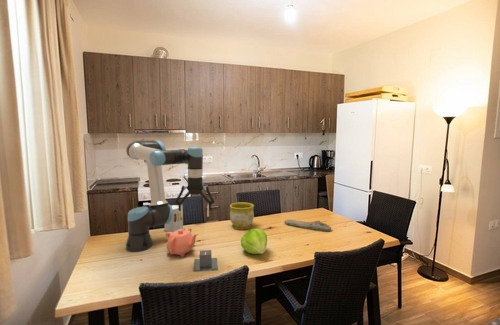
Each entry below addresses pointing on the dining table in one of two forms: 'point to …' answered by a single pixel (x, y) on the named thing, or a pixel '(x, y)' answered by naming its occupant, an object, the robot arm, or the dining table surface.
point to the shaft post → (207, 268)
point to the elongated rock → (309, 225)
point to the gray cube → (205, 258)
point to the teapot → (180, 242)
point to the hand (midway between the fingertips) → (195, 216)
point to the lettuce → (254, 241)
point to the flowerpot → (241, 215)
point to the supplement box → (175, 220)
